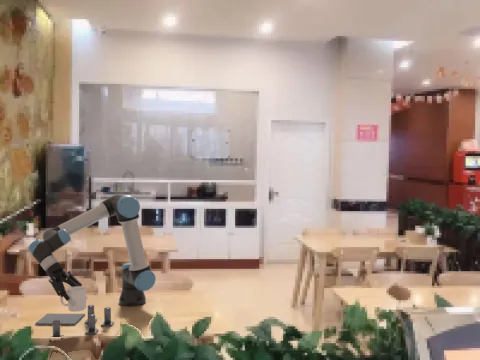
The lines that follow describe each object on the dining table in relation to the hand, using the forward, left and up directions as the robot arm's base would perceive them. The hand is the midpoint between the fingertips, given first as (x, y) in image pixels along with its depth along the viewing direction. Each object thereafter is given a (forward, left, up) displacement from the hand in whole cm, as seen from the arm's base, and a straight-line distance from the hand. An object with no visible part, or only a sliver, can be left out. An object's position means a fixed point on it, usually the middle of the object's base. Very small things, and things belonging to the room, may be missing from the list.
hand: (79, 301), depth 247 cm
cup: (+3, -1, -4) cm, 5 cm away
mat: (+15, -16, -14) cm, 26 cm away
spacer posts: (-2, -1, -14) cm, 14 cm away
